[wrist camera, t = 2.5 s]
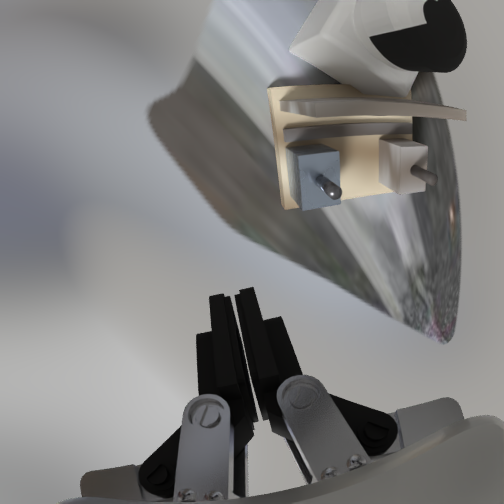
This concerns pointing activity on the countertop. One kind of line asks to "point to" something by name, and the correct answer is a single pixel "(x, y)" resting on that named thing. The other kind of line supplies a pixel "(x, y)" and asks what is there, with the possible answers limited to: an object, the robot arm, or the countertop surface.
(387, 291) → the countertop surface
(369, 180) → the board
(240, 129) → the countertop surface
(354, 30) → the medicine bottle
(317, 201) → the sliding pin
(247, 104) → the countertop surface
